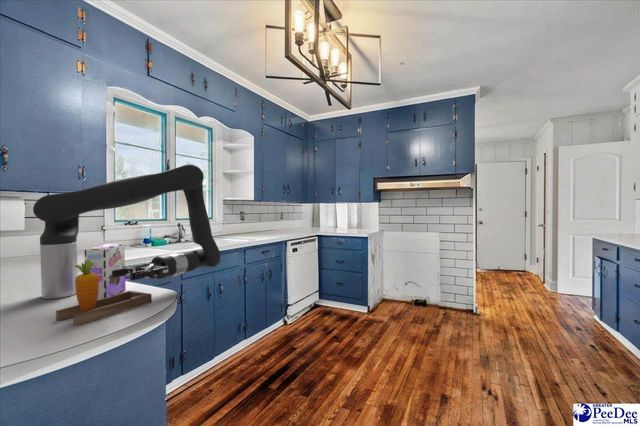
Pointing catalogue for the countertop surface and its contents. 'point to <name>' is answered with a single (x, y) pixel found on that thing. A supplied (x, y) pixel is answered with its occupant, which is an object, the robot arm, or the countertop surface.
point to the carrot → (86, 287)
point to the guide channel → (105, 307)
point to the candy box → (107, 268)
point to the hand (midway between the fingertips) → (121, 275)
